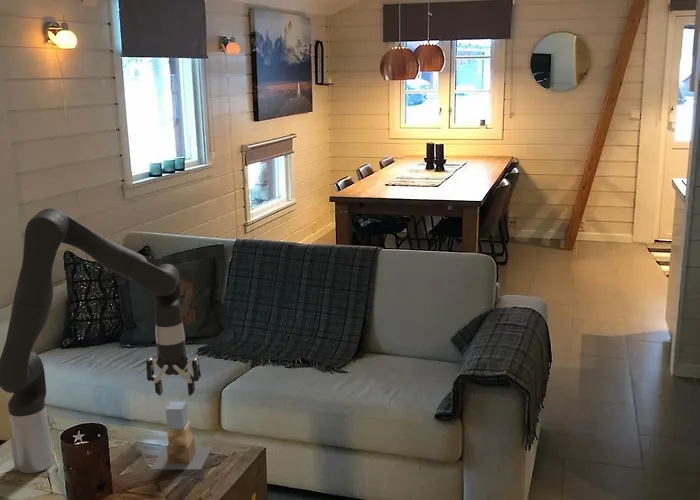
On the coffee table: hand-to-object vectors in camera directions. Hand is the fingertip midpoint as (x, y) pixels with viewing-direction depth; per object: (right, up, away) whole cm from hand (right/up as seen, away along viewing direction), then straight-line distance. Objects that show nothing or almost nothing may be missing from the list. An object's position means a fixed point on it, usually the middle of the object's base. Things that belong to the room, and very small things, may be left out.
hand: (175, 394), depth 203 cm
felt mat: (+1, -19, +5) cm, 20 cm away
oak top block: (+1, -14, +3) cm, 14 cm away
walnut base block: (+1, -19, +5) cm, 19 cm away
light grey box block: (0, -9, +2) cm, 9 cm away
